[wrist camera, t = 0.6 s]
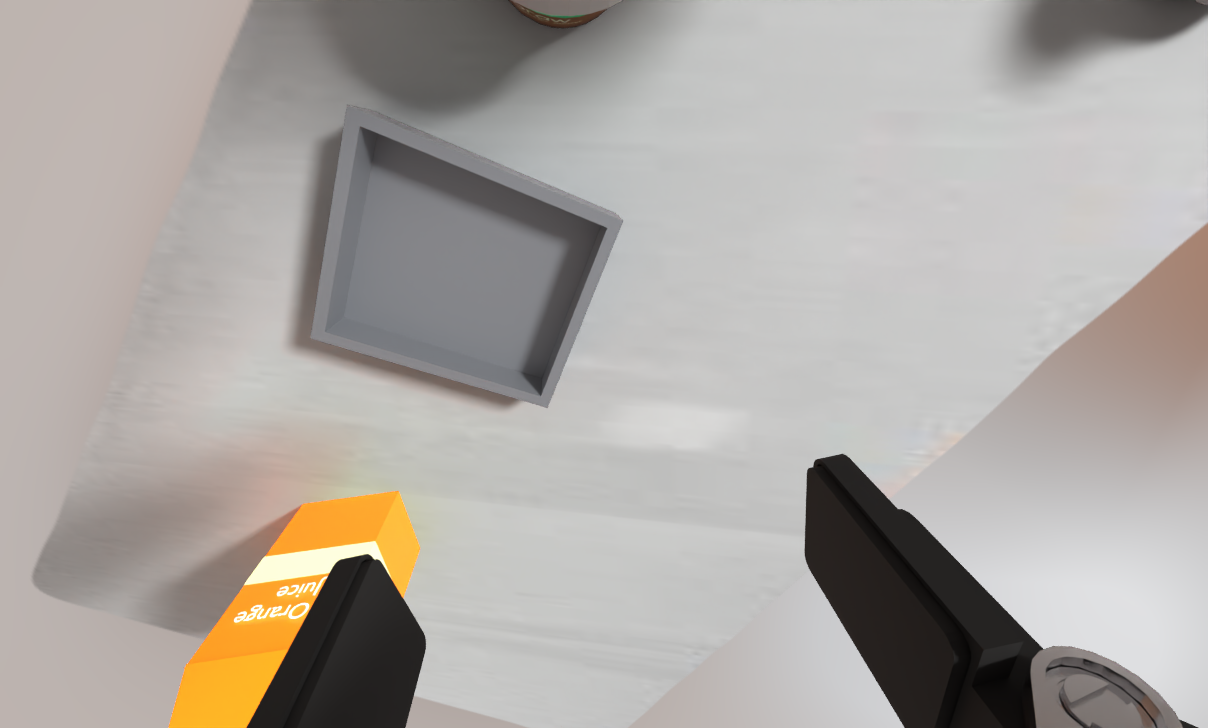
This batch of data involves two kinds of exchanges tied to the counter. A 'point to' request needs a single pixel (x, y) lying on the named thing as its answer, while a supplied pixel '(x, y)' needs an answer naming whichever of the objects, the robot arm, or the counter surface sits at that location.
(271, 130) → the counter surface
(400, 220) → the grey bin
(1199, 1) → the coffee pot
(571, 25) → the food container
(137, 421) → the counter surface
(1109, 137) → the counter surface
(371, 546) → the orange juice
